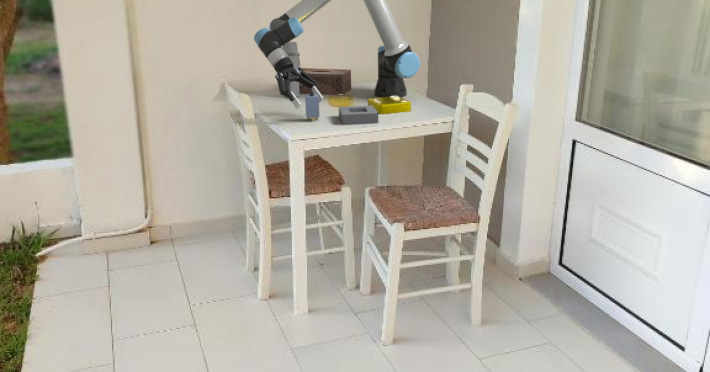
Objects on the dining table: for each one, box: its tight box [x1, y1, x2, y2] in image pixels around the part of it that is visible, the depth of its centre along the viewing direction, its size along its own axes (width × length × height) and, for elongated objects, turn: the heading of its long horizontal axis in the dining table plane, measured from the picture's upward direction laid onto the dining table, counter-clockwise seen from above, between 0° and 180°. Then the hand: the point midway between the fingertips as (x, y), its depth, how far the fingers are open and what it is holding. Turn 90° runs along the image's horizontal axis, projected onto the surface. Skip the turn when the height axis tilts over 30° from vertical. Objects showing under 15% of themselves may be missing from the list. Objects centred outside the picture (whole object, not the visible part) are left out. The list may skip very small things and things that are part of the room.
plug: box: [304, 88, 320, 123], centre depth 263 cm, size 5×5×13 cm
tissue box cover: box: [299, 67, 352, 96], centre depth 318 cm, size 26×14×10 cm, turn 75°
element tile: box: [367, 96, 412, 115], centre depth 281 cm, size 15×15×5 cm
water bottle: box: [281, 41, 302, 99], centre depth 305 cm, size 9×8×25 cm
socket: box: [338, 105, 379, 126], centre depth 264 cm, size 14×14×4 cm
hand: (310, 103), depth 263 cm, fingers open, 13 cm apart
